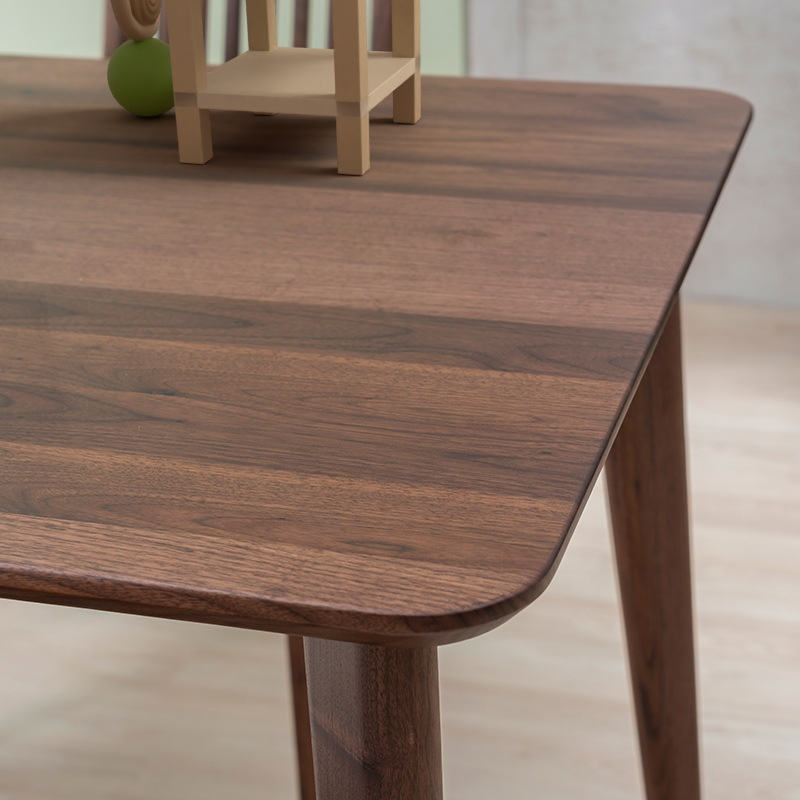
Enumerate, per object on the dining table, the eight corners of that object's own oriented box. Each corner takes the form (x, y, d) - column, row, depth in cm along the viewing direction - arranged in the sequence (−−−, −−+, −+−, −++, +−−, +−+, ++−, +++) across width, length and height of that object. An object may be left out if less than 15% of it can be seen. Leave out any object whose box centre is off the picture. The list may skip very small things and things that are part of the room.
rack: (179, 162, 79) (161, -38, 73) (260, 108, 91) (249, -68, 85) (362, 175, 76) (357, -33, 70) (421, 118, 88) (420, -64, 82)
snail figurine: (90, 125, 87) (68, -57, 82) (134, 103, 93) (115, -69, 87) (162, 131, 86) (143, -55, 80) (201, 108, 91) (187, -67, 86)
